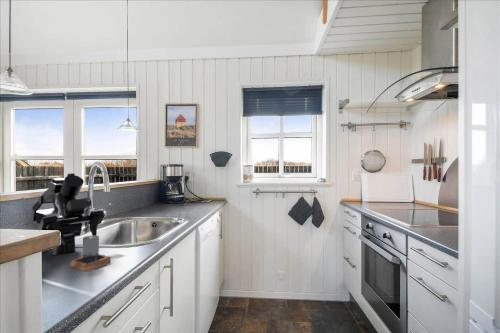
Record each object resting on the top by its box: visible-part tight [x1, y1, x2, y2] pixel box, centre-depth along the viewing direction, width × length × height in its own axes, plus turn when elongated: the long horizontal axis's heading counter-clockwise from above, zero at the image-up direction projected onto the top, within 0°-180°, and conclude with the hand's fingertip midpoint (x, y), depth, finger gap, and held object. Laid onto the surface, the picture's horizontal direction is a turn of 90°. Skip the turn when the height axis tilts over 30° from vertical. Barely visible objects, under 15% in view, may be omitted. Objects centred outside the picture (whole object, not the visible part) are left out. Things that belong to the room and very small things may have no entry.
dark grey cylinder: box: [82, 235, 100, 264], centre depth 83 cm, size 4×4×9 cm
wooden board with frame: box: [69, 253, 126, 272], centre depth 86 cm, size 12×16×3 cm
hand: (80, 240), depth 88 cm, fingers open, 9 cm apart
